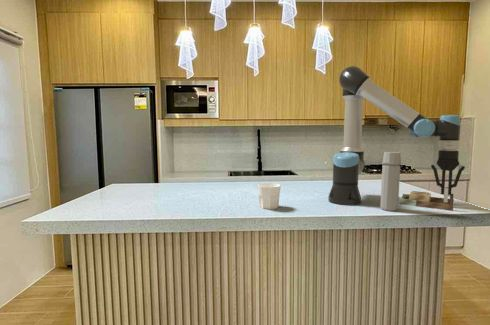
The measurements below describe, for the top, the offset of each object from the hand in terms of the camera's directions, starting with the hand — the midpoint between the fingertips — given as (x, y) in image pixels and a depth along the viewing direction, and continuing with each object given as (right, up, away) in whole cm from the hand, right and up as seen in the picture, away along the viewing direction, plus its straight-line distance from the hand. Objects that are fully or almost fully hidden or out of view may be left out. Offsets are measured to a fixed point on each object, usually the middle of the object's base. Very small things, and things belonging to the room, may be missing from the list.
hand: (445, 201), depth 138 cm
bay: (-6, -2, +4) cm, 8 cm away
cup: (-80, -2, -2) cm, 81 cm away
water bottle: (-28, -3, -4) cm, 29 cm away
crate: (-9, -2, +6) cm, 10 cm away
